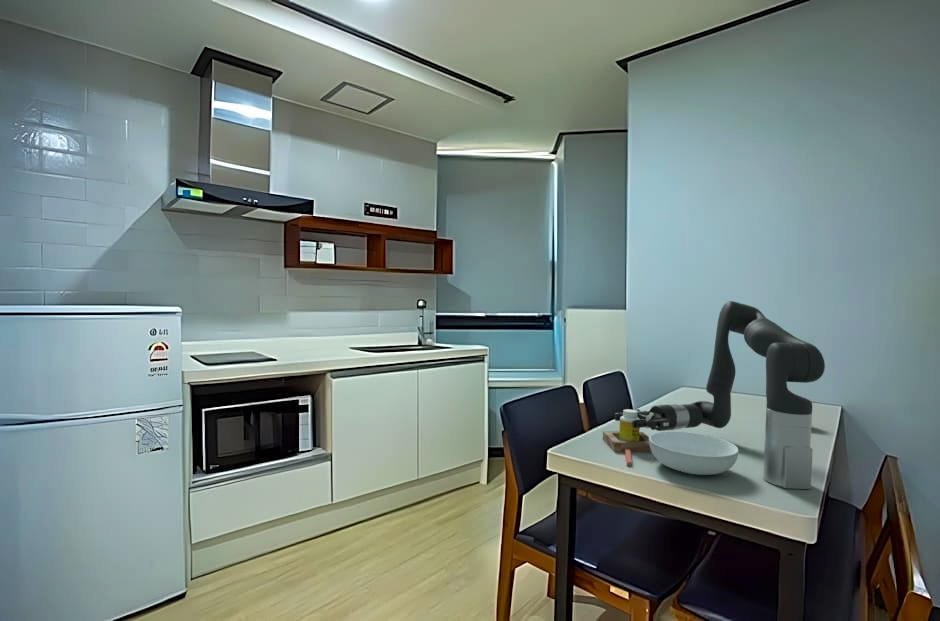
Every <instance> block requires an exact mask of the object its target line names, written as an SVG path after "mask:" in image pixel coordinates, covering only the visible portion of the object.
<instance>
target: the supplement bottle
mask: <svg viewBox="0 0 940 621" xmlns="http://www.w3.org/2000/svg"><path fill="white" fill-rule="evenodd" d="M622 413H623V416H621V417H620V421H619V441H639V432H640V428H634V427H632V421H633V420H637V419H639V418H638V417H637V411H636V410H635V409H629V408H627V409H623V410H622Z"/></svg>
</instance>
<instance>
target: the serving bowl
mask: <svg viewBox="0 0 940 621" xmlns="http://www.w3.org/2000/svg"><path fill="white" fill-rule="evenodd" d="M648 437H649V445H650V449H651V451H652V452H651V453H652V455H653V456H654V457H655V459H656V460H657V461H658V462H659V463H661V464H662V465H664V466H666V467H668V468H671V469H673V470H676V471H678V472H680V471H681V473H683V472H684V473H685V474H687V473H688V475H694V474H695V475H697V476H706V475H707V476H709V475H711V476H712V475H718V474H723V473H725V472H726V471H729V470H730V469H731V468H733V467H734V465H735V464H736V462H737V459H738V458H739V457H738V456H739V451H740V450H739V448H738V447H737V446H736V445H735V444H733V443H732V442H729V441H727V440H725V439H723V438H719V437H716V436H712V435H706V434H702V433H697V432H696V433H695V432H688V431H675V430H668V431H658V432H655V433H652V434H650V435H649V436H648ZM695 475H694V476H695Z"/></svg>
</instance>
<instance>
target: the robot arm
mask: <svg viewBox="0 0 940 621" xmlns="http://www.w3.org/2000/svg"><path fill="white" fill-rule="evenodd" d="M718 315H719V316H718V319H717V325H716V327H717V328H716V332H715V341H714V348H713V349H714V351H713V359H712V364H711V368H710V371H709V376H708V380H707V383H706V388H705V390H706V392H707V393H708V394H709V395H711V396H713V402H710V401H706V400H705V401H704V400H700V401H699V400H698V401H694V402H692V403H690V404H689V403H688V404H686V403H684V404H656V405H653V406H652V407H650V409H649V410H641V409H639V408H637V409H634V410H636V411H637V417H638V418H639V419H637V420H633V421H632V427H634V428H645V429H650V430H652V431H658V432H667V431H677V430H682V429H690V428H696V427H698V426H700V425H701V424H704V425H707V426H710V427H713V428H715V429H723V428H725V427H726V426H727V425H728V424H729V422H730V420H731V416H732V399H731V398H732V396H731V392H732V389H733V387H734V386H733V385H734V383H735V382H734V381H735V377H736V364H735V362H734V359H733V355H732V353H731V349H730V344H729V335H730V332H733V333H736V334H739V335H743V338H744V339H743V340H744V341H745V342H744V343H746V345H747V346H748V347H749V348H750V349H751V350H752V351H753V352H754V353H755V354H757V355H759V356H761V357H762V358H763V357H764V358H765V378H766V379H765V380H766V381H765V383H766V384H765V397H766V412H765V414H766V415H765V430H764V431H765V433H764V452H763V453H764V454H763V479H764V480H765V481H766V482H768V483H769V484H772V485H775V486H778V487H781V488H783V489H792V490H793V489H794V490H795V489H796V490H797V489H799V490H800V489H801V490H811V489H812V471H813V470H812V469H813V452H814V450H813V448H812V446H811V441H812V438H811V437H812V424H813V422H812V421H813V403H812V401H811V400H810V399H808V398H806V397H803V396H801V395H798V394H795V393H793V392H792V391H790V390H789V388H788V382H789V383H800V384H801V383H814V382H816V381H818V380H820V379H821V378H822V377H823V375H824V372H825V368H826V364H825V359H824V356H823V354H822V353H821V351H820V349H819V348H818V347H816V346H815V345H814V344H812V343H810V342H807V341H805V340H802V339H800V338H797V337H796V336H794V335H793V334H791V333H790V332H789V331H787V330H785V329H783V327H781V326H780V325H778V324H777V323H775V322H774V321H772V320H770V319H769V318H767V317H766V316H765V315H764V313H762V311H760V310H759V308H757V307H754V306H751V305H748V304H744V303H741V302H737V301H732V300H728V301H727V302H725V303H724V304H723V306H722V307H721V309H720V312H719V314H718ZM621 416H623V412H615V413H614V421H617V422H620V417H621Z"/></svg>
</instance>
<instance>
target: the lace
mask: <svg viewBox="0 0 940 621" xmlns="http://www.w3.org/2000/svg"><path fill="white" fill-rule="evenodd" d="M624 454H625V462H627V463H626V466H627V465H629V466H628V467H633V465H632V464H633V460H632V455H631V454H632V453H631V452H630V449H625V452H624Z"/></svg>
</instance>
